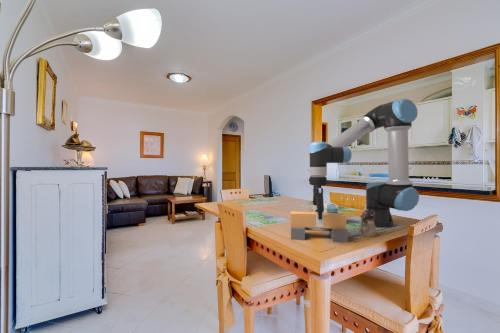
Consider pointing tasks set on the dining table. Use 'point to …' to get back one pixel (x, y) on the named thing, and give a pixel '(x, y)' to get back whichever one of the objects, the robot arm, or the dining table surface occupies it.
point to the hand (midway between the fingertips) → (317, 222)
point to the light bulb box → (330, 207)
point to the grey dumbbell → (335, 234)
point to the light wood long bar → (310, 220)
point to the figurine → (367, 224)
